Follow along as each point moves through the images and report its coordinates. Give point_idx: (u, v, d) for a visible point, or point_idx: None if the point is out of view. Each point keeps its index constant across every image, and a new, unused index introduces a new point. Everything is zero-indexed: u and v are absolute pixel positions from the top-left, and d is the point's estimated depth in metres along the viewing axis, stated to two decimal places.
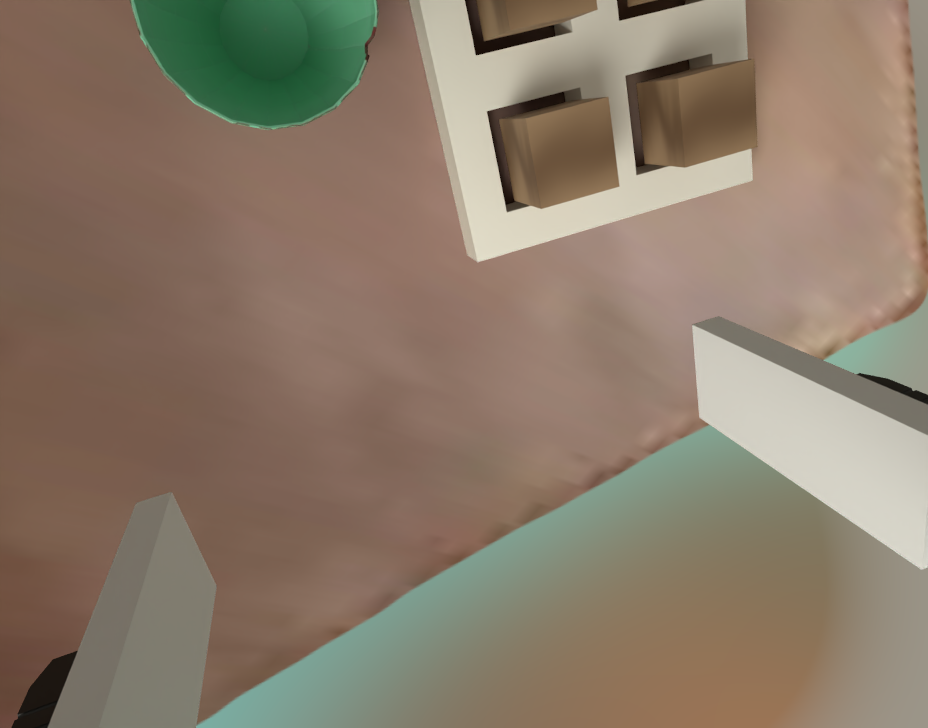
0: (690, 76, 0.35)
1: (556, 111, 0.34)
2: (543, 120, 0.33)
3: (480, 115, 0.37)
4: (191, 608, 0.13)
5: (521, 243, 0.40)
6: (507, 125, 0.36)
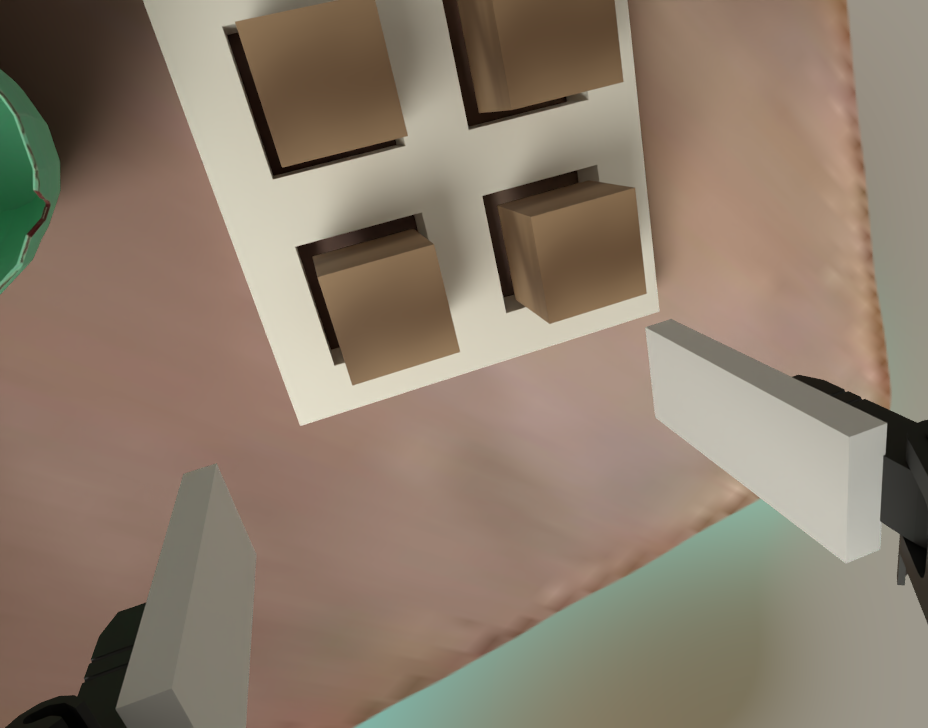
0: (548, 213, 0.26)
1: (361, 265, 0.25)
2: (343, 278, 0.25)
3: (286, 252, 0.29)
4: (238, 571, 0.14)
5: (357, 400, 0.32)
6: None
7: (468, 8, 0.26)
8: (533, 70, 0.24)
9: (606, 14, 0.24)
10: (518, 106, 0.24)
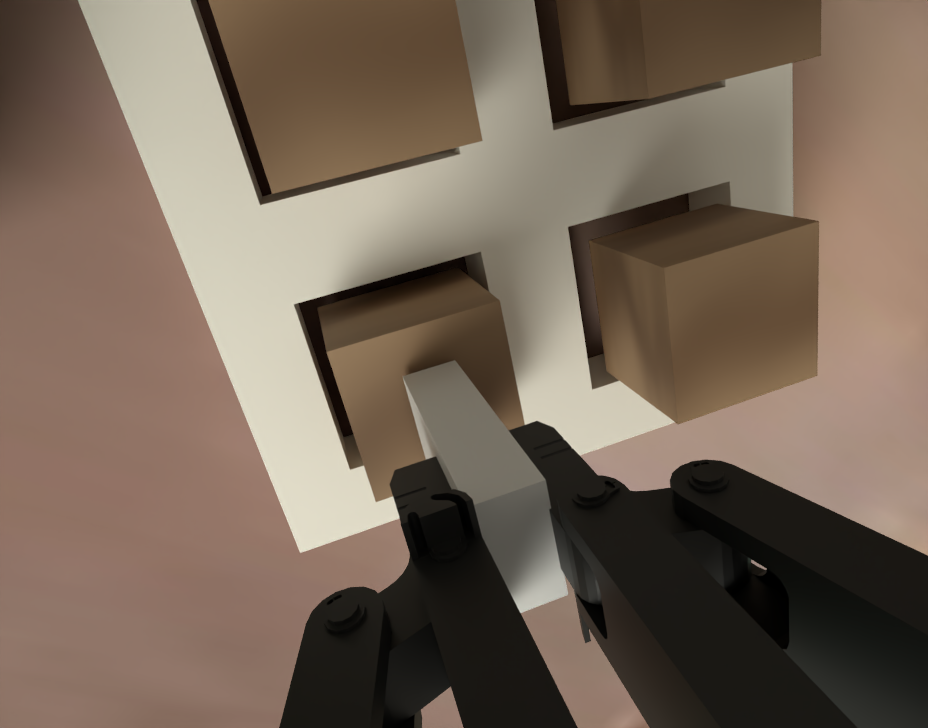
0: (689, 262, 0.17)
1: (392, 334, 0.17)
2: (366, 352, 0.17)
3: (281, 312, 0.19)
4: None
5: (382, 515, 0.22)
6: None
7: None
8: (687, 33, 0.15)
9: None
10: (659, 93, 0.15)
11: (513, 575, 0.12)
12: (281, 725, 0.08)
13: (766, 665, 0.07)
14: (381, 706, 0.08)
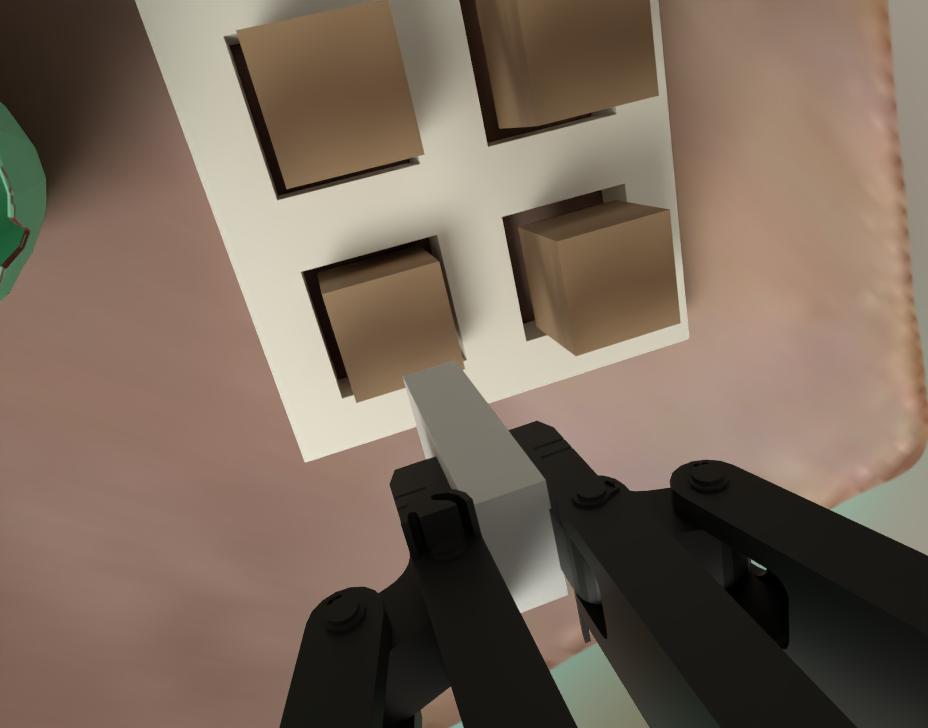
0: (575, 237, 0.24)
1: (366, 283, 0.25)
2: (348, 295, 0.25)
3: (291, 277, 0.26)
4: None
5: (366, 435, 0.30)
6: None
7: (489, 16, 0.24)
8: (561, 82, 0.22)
9: (641, 22, 0.22)
10: (545, 122, 0.22)
11: (513, 574, 0.12)
12: (281, 725, 0.08)
13: (766, 665, 0.07)
14: (381, 706, 0.08)
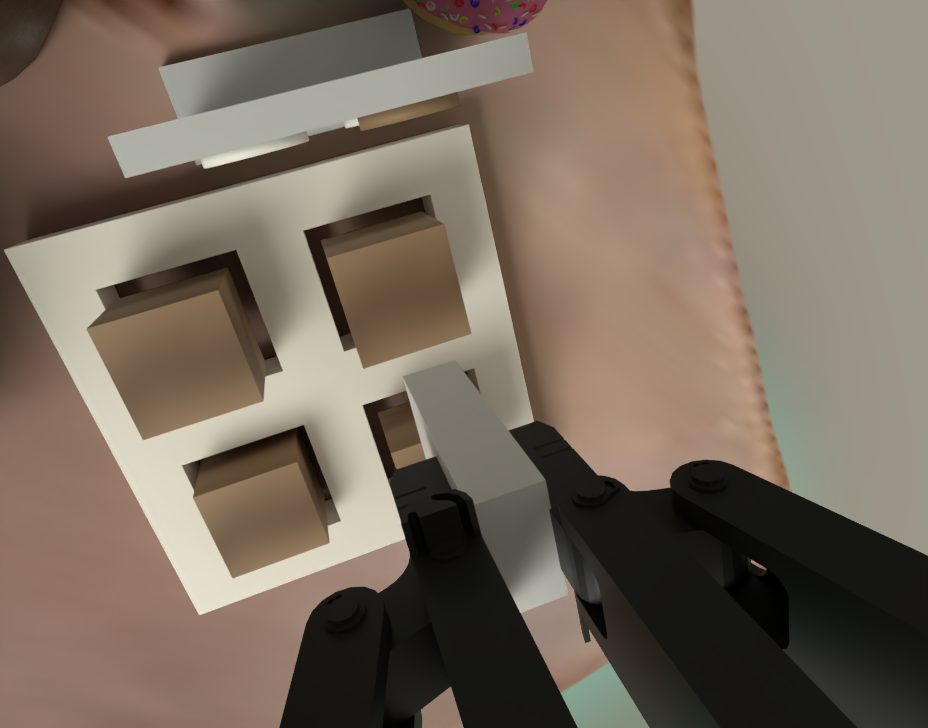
0: (408, 448, 0.28)
1: (232, 485, 0.29)
2: (216, 496, 0.29)
3: (173, 470, 0.30)
4: None
5: (254, 588, 0.34)
6: None
7: None
8: (381, 334, 0.26)
9: (448, 281, 0.26)
10: (369, 365, 0.26)
11: (513, 575, 0.12)
12: (281, 725, 0.08)
13: (766, 665, 0.07)
14: (381, 706, 0.08)
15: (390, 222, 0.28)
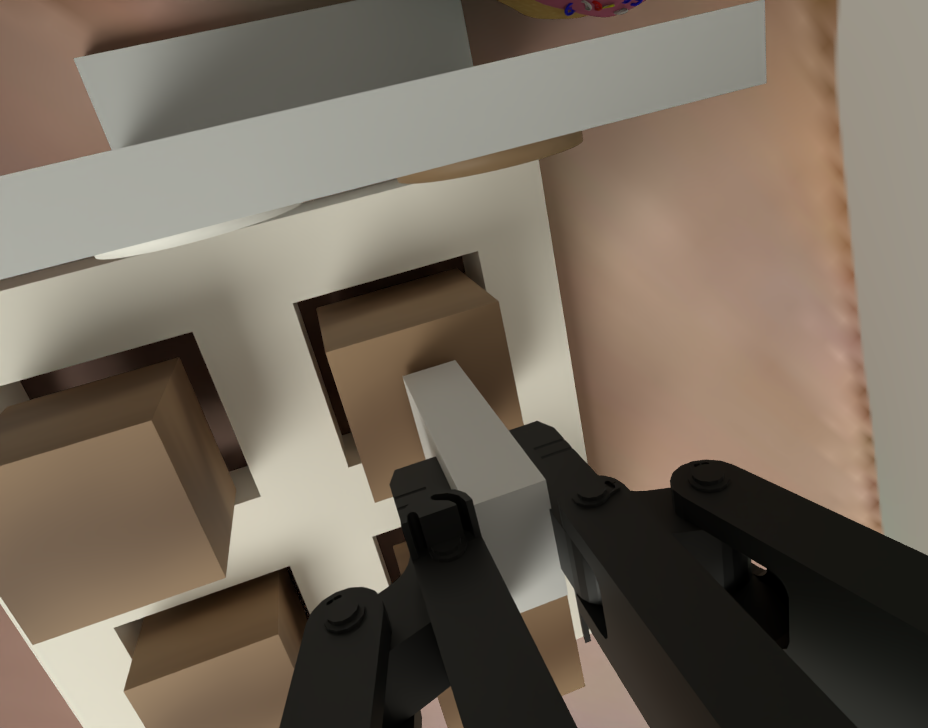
0: None
1: (182, 670, 0.20)
2: (159, 687, 0.20)
3: (102, 635, 0.21)
4: None
5: None
6: None
7: None
8: (402, 455, 0.18)
9: (500, 380, 0.18)
10: (384, 498, 0.18)
11: (513, 574, 0.12)
12: (280, 725, 0.08)
13: (766, 665, 0.07)
14: (380, 706, 0.08)
15: (414, 285, 0.20)
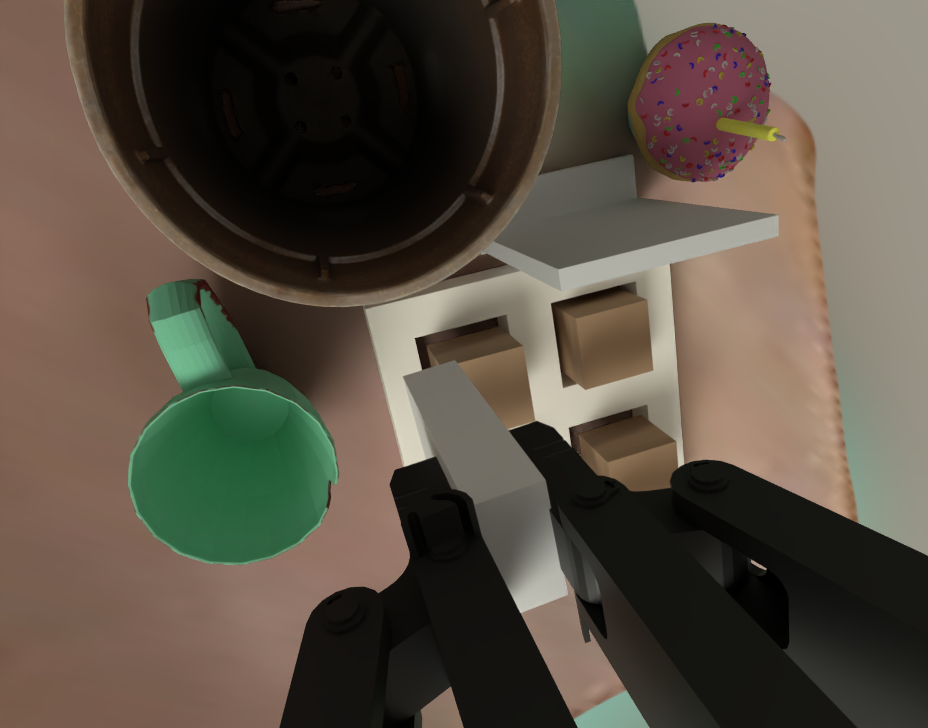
0: (619, 459, 0.40)
1: None
2: None
3: None
4: None
5: None
6: None
7: (558, 318, 0.42)
8: (599, 368, 0.40)
9: (644, 336, 0.40)
10: (589, 387, 0.40)
11: (513, 575, 0.12)
12: (281, 725, 0.08)
13: (766, 665, 0.07)
14: (381, 706, 0.08)
15: (596, 293, 0.43)
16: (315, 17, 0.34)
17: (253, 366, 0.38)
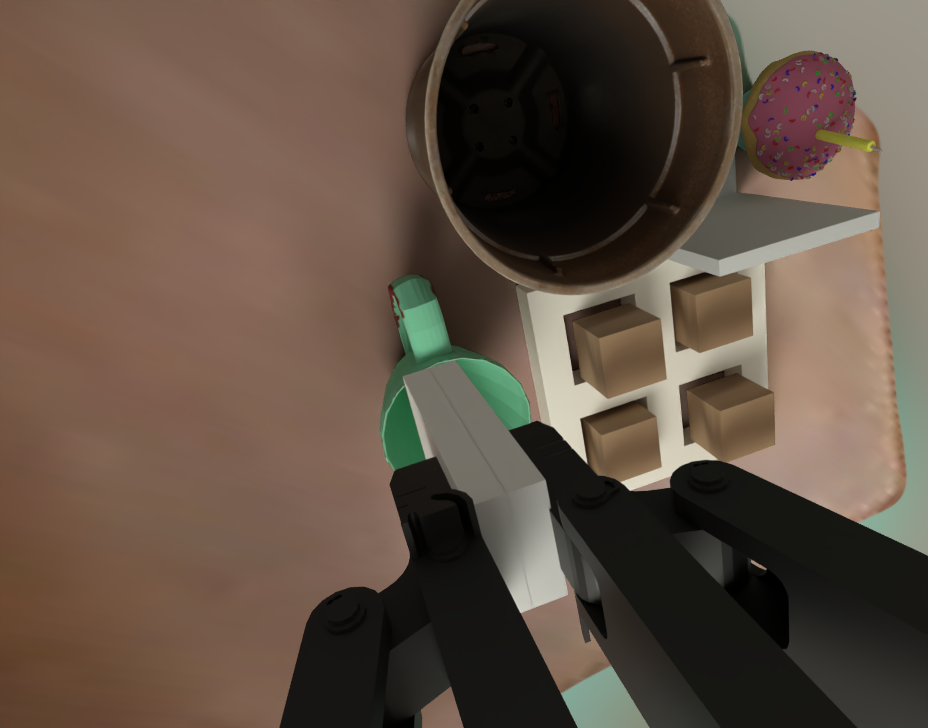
0: (728, 409, 0.49)
1: (621, 429, 0.50)
2: (613, 435, 0.50)
3: (575, 421, 0.51)
4: None
5: None
6: (584, 422, 0.52)
7: (673, 295, 0.50)
8: (711, 334, 0.49)
9: (747, 307, 0.49)
10: (702, 351, 0.49)
11: (512, 574, 0.12)
12: (281, 725, 0.08)
13: (766, 665, 0.07)
14: (381, 706, 0.08)
15: (701, 273, 0.51)
16: (492, 57, 0.42)
17: None
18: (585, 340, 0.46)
